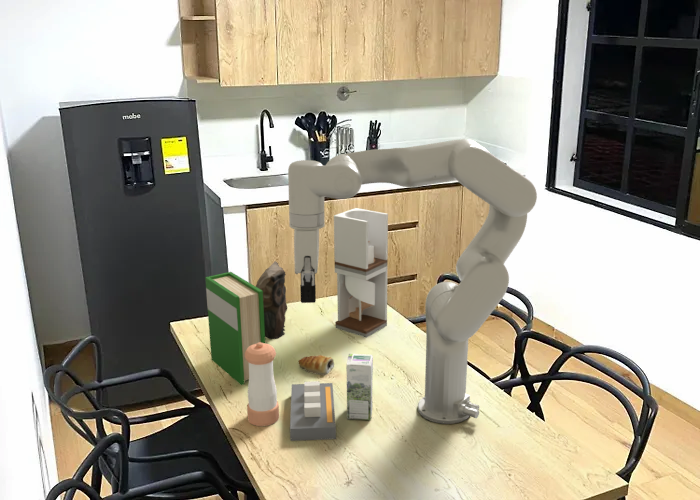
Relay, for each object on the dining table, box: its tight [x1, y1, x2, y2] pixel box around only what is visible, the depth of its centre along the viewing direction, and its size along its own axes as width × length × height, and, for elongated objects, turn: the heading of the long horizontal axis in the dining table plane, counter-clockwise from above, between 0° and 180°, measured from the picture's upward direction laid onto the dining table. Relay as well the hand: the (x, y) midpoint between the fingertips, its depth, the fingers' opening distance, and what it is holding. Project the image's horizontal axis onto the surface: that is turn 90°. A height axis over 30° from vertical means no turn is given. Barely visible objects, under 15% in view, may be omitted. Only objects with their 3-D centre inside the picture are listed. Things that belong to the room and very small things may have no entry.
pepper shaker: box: [245, 342, 280, 427], centre depth 163 cm, size 7×7×19 cm
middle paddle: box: [304, 392, 320, 403], centre depth 165 cm, size 1×4×3 cm, turn 94°
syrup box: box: [346, 353, 374, 421], centre depth 165 cm, size 6×6×14 cm
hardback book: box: [205, 271, 266, 386], centre depth 186 cm, size 18×7×24 cm, turn 35°
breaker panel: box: [289, 382, 337, 442], centre depth 166 cm, size 20×10×3 cm, turn 3°
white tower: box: [333, 207, 389, 338], centre depth 209 cm, size 11×11×35 cm
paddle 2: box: [304, 403, 321, 417], centre depth 160 cm, size 1×4×3 cm, turn 93°
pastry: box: [297, 354, 335, 376], centre depth 189 cm, size 9×7×4 cm
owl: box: [255, 260, 288, 340], centre depth 209 cm, size 13×13×20 cm
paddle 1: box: [303, 380, 321, 392], centre depth 170 cm, size 1×4×3 cm, turn 94°
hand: (308, 293), depth 157 cm, fingers open, 9 cm apart
